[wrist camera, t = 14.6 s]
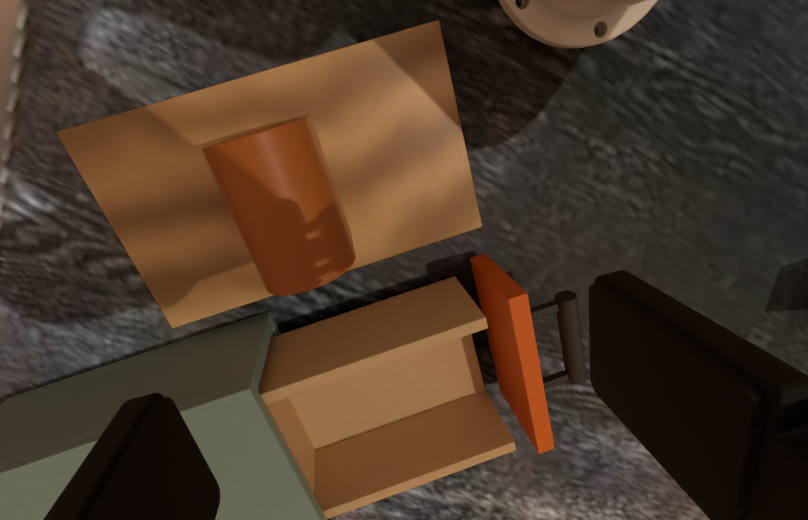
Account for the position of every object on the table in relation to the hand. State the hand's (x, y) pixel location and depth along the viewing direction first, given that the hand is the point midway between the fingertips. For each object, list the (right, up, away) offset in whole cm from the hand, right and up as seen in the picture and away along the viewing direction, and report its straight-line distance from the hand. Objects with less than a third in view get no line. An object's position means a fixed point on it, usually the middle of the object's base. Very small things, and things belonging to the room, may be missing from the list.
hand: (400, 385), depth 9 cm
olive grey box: (-17, -10, +22) cm, 30 cm away
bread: (-7, +7, +16) cm, 19 cm away
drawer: (+1, -4, +23) cm, 23 cm away
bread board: (-7, +8, +17) cm, 20 cm away
